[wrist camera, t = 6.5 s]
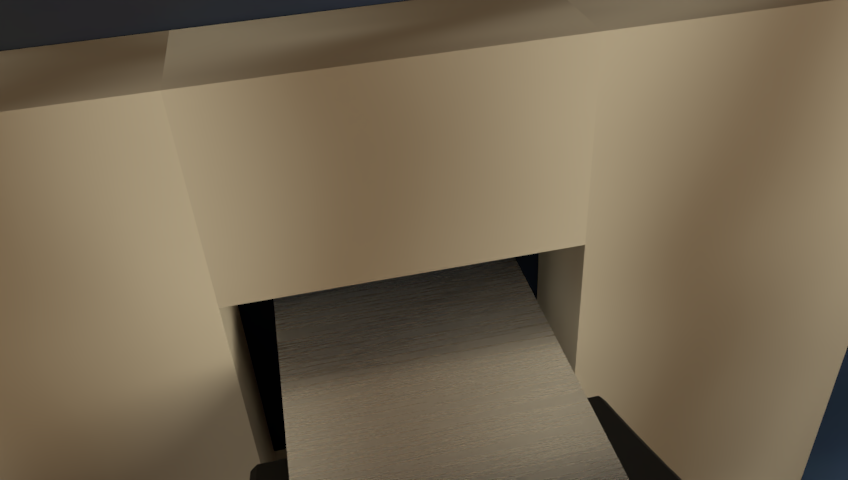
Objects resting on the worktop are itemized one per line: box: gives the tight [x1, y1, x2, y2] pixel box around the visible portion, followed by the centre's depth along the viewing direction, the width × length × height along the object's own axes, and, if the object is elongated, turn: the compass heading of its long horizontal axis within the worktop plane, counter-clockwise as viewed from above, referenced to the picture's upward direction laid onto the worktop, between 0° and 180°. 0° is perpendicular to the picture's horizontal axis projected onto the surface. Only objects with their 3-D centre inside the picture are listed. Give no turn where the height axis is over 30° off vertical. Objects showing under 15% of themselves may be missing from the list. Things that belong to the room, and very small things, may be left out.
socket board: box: [0, 0, 848, 480], centre depth 14 cm, size 16×12×2 cm
